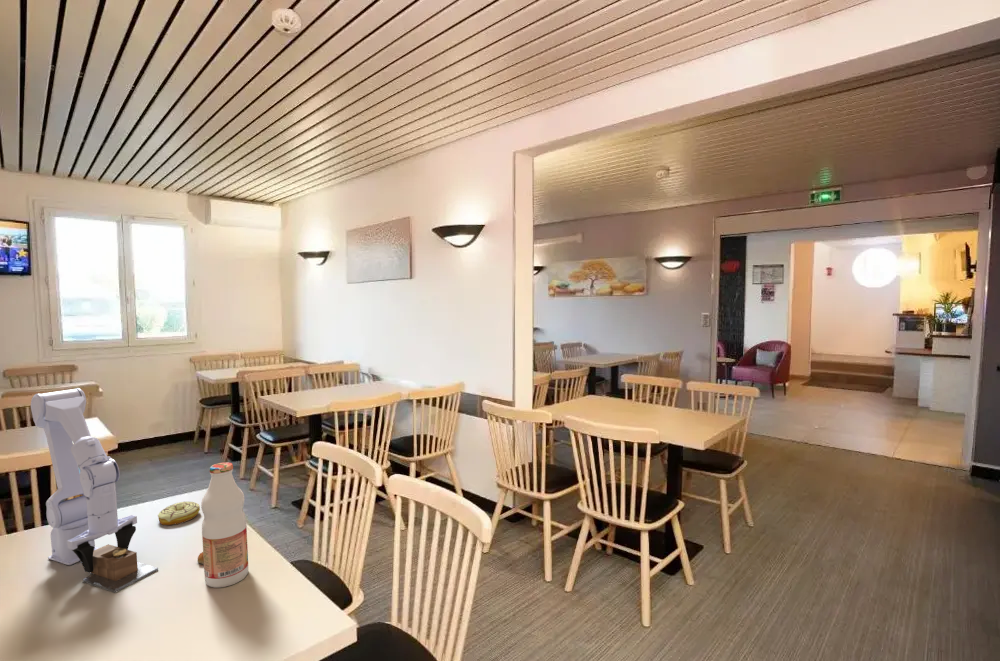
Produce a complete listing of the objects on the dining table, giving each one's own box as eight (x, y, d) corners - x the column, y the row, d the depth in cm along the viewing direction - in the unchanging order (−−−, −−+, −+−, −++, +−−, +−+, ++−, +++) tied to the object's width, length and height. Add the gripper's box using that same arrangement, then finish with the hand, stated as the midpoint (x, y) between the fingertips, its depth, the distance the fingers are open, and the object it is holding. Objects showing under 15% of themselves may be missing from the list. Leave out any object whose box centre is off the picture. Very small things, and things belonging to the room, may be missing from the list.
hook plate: (82, 581, 120) (80, 556, 120) (126, 560, 129) (125, 537, 129) (114, 592, 116) (112, 566, 115) (158, 570, 125) (156, 545, 125)
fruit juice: (195, 585, 118) (188, 470, 116) (226, 564, 127) (220, 457, 125) (228, 591, 116) (222, 474, 114) (257, 569, 125) (252, 460, 123)
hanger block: (87, 571, 123) (85, 553, 123) (109, 561, 128) (108, 544, 128) (116, 581, 119) (114, 562, 119) (137, 570, 124) (136, 552, 124)
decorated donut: (151, 521, 152) (151, 509, 152) (189, 508, 161) (188, 497, 161) (168, 529, 147) (167, 517, 146) (206, 515, 156) (205, 504, 155)
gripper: (78, 526, 115) (83, 582, 116) (143, 501, 129) (146, 552, 130) (60, 521, 118) (64, 576, 119) (125, 497, 131) (129, 547, 132)
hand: (106, 563), depth 124 cm, fingers open, 7 cm apart
